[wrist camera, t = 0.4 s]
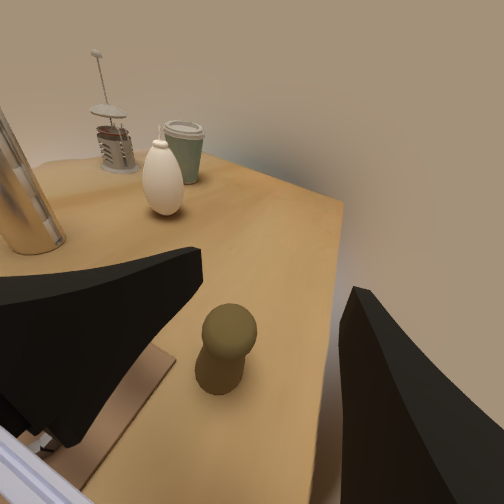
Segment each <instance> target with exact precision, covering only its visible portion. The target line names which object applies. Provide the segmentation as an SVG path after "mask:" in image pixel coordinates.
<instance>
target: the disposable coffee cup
mask: <svg viewBox="0 0 504 504" xmlns="http://www.w3.org/2000/svg"><path fill="white" fill-rule="evenodd" d="M163 132H164V134H165V138H166V142H167V143H168V148H169V149H170V150H171V151H172V153H173V154H174V156H175V158H176V160H177V162H178V165H179V167H180V170H181V173H182V178H183V184H193V183H195V182H196V180H197V177H198V170H199V164H200V158H201V151H202V144H203V139H204V137H205V136H204V132H203V128H202V127H201V126H200V125H199V124H196V123H192V122H188V121H183V120H174V121H169V122H167V123H166V124H165V126H164V127H163Z"/></svg>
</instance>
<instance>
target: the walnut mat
mask: <svg viewBox="0 0 504 504" xmlns="http://www.w3.org/2000/svg"><path fill="white" fill-rule="evenodd" d="M175 361H176V358H174V357H173V356H171V355H169V354H168V353H166V352H165V351H163V350H161V349H160V348H158V347H157V346H155V345H153V344H152V343H149V345H148V346H147V347H146V348H145V350H144V351H143V352H142V353H141V355H140V356H139V357H138V359H137V360H136V361H135V363H134V364H133V365H132V367H131V368H130V369H129V371H128V372H127V373H126V375H125V376H124V377H123V379H122V380H121V382H120V383H119V385H118V386H117V387H116V389H115V390H114V392H113V393H112V395H111V396H110V398H109V399H108V400H107V402H106V403H105V405H104V406H103V408H102V410H101V411H100V413H99V414H98V416H97V417H96V419H95V420H94V422H93V424H92V425H91V427H90V428H89V430H88V431H87V433H86V435H85V436H84V438H83V439H82V441H81V442H80V443H79V444H77V445H76V446H73V447H71V448H65V447H64V446H61V447H60V448H59V449H58V450H57V451H56V450H54V454H52V455H51V456H49V457H47V458H46V459H44V460H43V461H44V462H45V463H46V464H48V465H49V466H50V467H51V468H52V469H54V470H55V471H56V472H57V473H58V474H60V475H61V476H62V477H63V478H64V479H66V480H67V481H68V482H69V483H70V484H72V485H73V486H74V487H75V488H77V489H78V490H79V491H81V490H82V489H83V487H84V486H85V485H86V483H87V482H88V480H89V479H90V478H91V476H92V475H93V474H94V472H95V471H96V469H97V468H98V467H99V465H100V464H101V463H102V461H103V460H104V459H105V457H106V456H107V454H108V453H109V452H110V450H111V449H112V448H113V446H114V445H115V443H116V442H117V441H118V439H119V438H120V437H121V435H122V434H123V433H124V431H125V430H126V428H127V427H128V426H129V424H130V423H131V422H132V420H133V419H134V417H135V416H136V415H137V413H138V412H139V411H140V409H141V408H142V407H143V405H144V404H145V402H146V401H147V400H148V398H149V397H150V396H151V394H152V393H153V391H154V390H155V389H156V387H157V386H158V385H159V383H160V382H161V381H162V379H163V378H164V376H165V375H166V374H167V372H168V371H169V370H170V368H171V367H172V366H173V364H174V363H175ZM44 433H45V432H44V431H42V432H41V433H40V434H39V435H37V436H33V435H32V434H31V433H29V432H28V431H27V430H26V431H24V432H23V433H22V434H21V435H20V436H19V437H18V438H17V440H19V441H20V442H21V443H22V444H23V445H25V446H28V445H30V444H31V443H33V442H35V441H37V440H38V439H39V438H40V437H41V436H42V435H43V434H44ZM0 504H10V503H9V502H8V501H7V500H6V499H5V498H4V497H3V496H2V495H1V494H0Z"/></svg>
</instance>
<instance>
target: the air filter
mask: <svg viewBox="0 0 504 504" xmlns="http://www.w3.org/2000/svg"><path fill="white" fill-rule="evenodd" d="M0 234H1V235H2V237H3V238H4V239H5V240H6V242H7V243H8V244H9V246H10V247H11V248H12V250H13V251H15V252H17V253H20V254H26V255H33V254H41V253H45V252H48V251H51V250H53V249H56V248H57V247H59V246H60V245H62V244H63V242H64V241H65V239H66V238H65V234H64V232H63V230H62V228H61V226H60V224H59V222H58V220H57V218H56V216H55V214H54V212H53V210H52V209H51V207H50V205H49V203H48V201H47V199H46V197H45V195H44V193H43V191H42V189H41V187H40V185H39V183H38V181H37V179H36V177H35V175H34V173H33V171H32V169H31V167H30V165H29V163H28V161H27V159H26V157H25V155H24V153H23V151H22V149H21V147H20V145H19V143H18V142H17V140H16V138H15V136H14V134H13V132H12V130H11V128H10V126H9V124H8V122H7V120H6V118H5V116H4V114H3V112H2V110H1V108H0Z"/></svg>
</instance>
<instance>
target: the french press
mask: <svg viewBox="0 0 504 504" xmlns="http://www.w3.org/2000/svg"><path fill="white" fill-rule="evenodd" d="M91 54H92V56H94V57H96V58H97V62H98V67H99V71H100V75H101V70H100V65H99V61H98V57H99V58H102V55H101V53H100V52H99V51H97V50H92V51H91ZM101 80H102V84H103V79H102V75H101ZM103 89H104V94H105V99H106V103H105V104H97V105H94V106H93V107H91V108H90V109H89V111H90V112H91V113H92V114H94V115H98V116H102V117H107V118H110V121H111V118H126V116H127V113H125V112H124V111H123V110H121V109H120V108H118V107H116V106H113V105H110V104H108V102H107V98H106V93H105V88H104V85H103ZM111 126H112V127H111ZM111 126H100V127H97V130H98V132H100V133H98V134H97V138H98V141H99V143H100V142H102V143H104V144H102V145H99V146H100V148H104V149H103V150H101V153H105V154H104V155H102V157H103V158H106V159H105V160H104V159H103V161H104V163H103V164H102V165H101V168H102V169H103V170H105V171H107V172H111V173H117V174H129V173H134V172H136V171H138V170H139V168H140V167H139V166H138V165H137V164H136V163H135V160H134V154H133V152H132V151H133V149H132V147H131V146H132V144H131V137H130V136H128V133H129V132H128V131H127V130H126V129H125V127H124V125H123V124H122V123H121V128H118V127H117V125H116V124H115V123H114V126H113V125H112V121H111ZM115 126H116V127H115ZM122 126H123V127H124V128H122ZM119 141H121V142H122V144H120V142H119ZM121 146H122V148H121ZM123 152H125V154H124V153H123ZM122 155H123V156H126V158H124V157H123V156H122Z"/></svg>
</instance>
